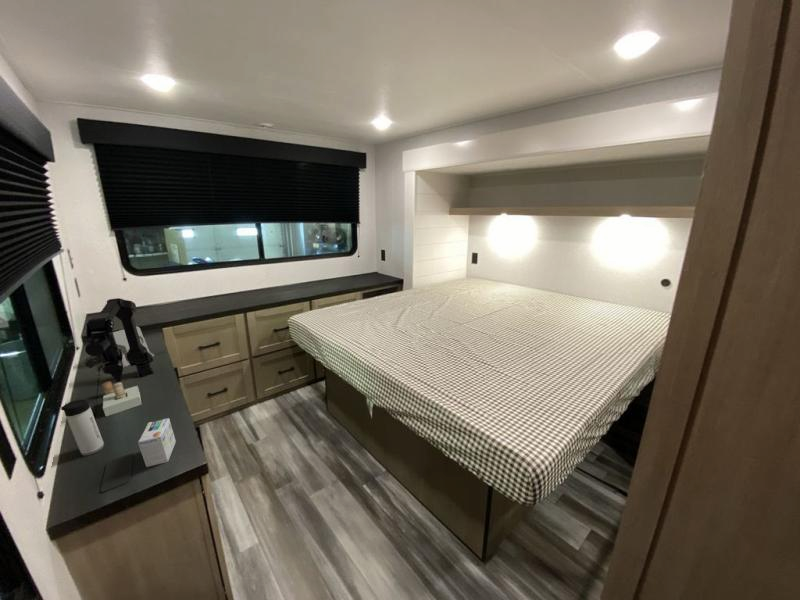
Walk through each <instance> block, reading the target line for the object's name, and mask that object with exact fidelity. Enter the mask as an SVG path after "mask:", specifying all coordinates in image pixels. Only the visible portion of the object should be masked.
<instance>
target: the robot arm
mask: <svg viewBox="0 0 800 600" xmlns="http://www.w3.org/2000/svg"><path fill="white" fill-rule="evenodd" d="M136 309H137V305H136V303H135V302H133V301H132V300H128V299H123V298H116V297H115V298H110V299H107V300H106V304H105V305H104V306H103V308H102V310H101V311H100V312H99V314H97V315H94V316H92V317H91V318H89V319H88V320H87V322H86V329H85V330H86V332H85V333H86V335H85V338H86V340H88V339H89V340H88V344H87V345H86V346H85V348H84V349H85V350H84V351H85V353H86V354H87V355H89V357H86V358H85V359H84V360H83V364H84V365H85V367H86V368H88V369H92V368H94V367H95V366H96V365H99V364H100V363H102V364H103V365H102V371H103V374H105V375H106V374H107V375H111V377H112V378H113V379H114V380H115V382H116V383H121V382H122V381H121V380H122V376H123V372H124V367H123V363H122V358H123V357H122V353H123V352H122V349H120V348H119V345H117V344H116V341H115V338H114V335H113V332H115V331H114V328H115V321H114V318H115V317H116V318H117V319H118V320H120V321H121V324H122V327H123V330H124V331H125V334H126V338H127V341H128V344H129V351H128V353H127V352H126V358H127V360H128V362H129V364H130V365H129V366H130V367H133V366H135V368H136V370H137V372H136V374H137V378H141V377H144V376H148V375H152V374H154V369H153V367H151V366H152V365H151V363H152V362H154V357H153V355H151V354H150V353H151V352H150V353H149V352H148V351H147V348H146V347H144V346H143V345H142V344H141V342H140V338H139V335H138V332H137V328H136V326H137V325H136V322H135V321H136V320H135V318H134V317H135V315H136V314H137V313H136V312H137V310H136Z"/></svg>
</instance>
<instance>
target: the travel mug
mask: <svg viewBox="0 0 800 600" xmlns="http://www.w3.org/2000/svg"><path fill="white" fill-rule="evenodd" d="M60 410H61V411H63V412H64V415H65V417H66V420H67V423H68V425H69V427H70V429H71V432H72V434H73V437H74V439H75V443H76V444H77V448H78V449H79V452H80V454H81V455H82V456H91V455H94V454H95V453H98V452H99V451H100V450H102V449H103V448H104V446H105V443H104V440H103V437H102V434H101V432H100V430H99V427H98V424H97V422H96V418H95V416H94V413H93V410H92V408H91V406H90V404H89V401H88V400H85V399H78V400H73V401H70V402H67V403H66V404H64V405H63V406H61V407H60Z"/></svg>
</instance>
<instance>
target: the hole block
mask: <svg viewBox="0 0 800 600" xmlns="http://www.w3.org/2000/svg"><path fill="white" fill-rule="evenodd" d="M124 391H125V394H126V397H125V398H121V399H118V400H117V398H116V395H115V393H111V394H108V395H106V394H105V395H103V397H102V399H103V400H102V410H103V412H104V415H105V417H108V416H111V415H115V414H118V413H121V412H123V411H126V410H129V409H132V408H135V407H138V406H142V399H141V398H142V397H141V392H140V389H139V386H138V385H136V386H132V387H128V388H124Z"/></svg>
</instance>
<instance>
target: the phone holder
mask: <svg viewBox="0 0 800 600" xmlns="http://www.w3.org/2000/svg"><path fill="white" fill-rule="evenodd" d="M136 328H137V332H138V335H139V338H140V342H141V344H142V345H143V346H144V347H146V348H147V351H148V352H149V353H150V354H151V355H153V356H154V357H155V354H154V353H152V352H151V351H150V349H149V346H148V344H147V342H146V339H145V337H144V336H143V332H142V330H141V328H140V327H139V326H137V325H136ZM112 333H113V335H114V338H115V341H116V344H117V345H118V346H121V347H124V348H125V351H126V354H127V353H128V351H129V344H128V341H127V338H126V334H125V331H124V329H120V330H117V331H113V332H112ZM122 357H123V358H122V363H123V368H125V366H126V367H129V366H130V364H129V362H128V360H126V358H127V357H126V355H125V354H124V353H123V352H122ZM128 365H129V366H128Z"/></svg>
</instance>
